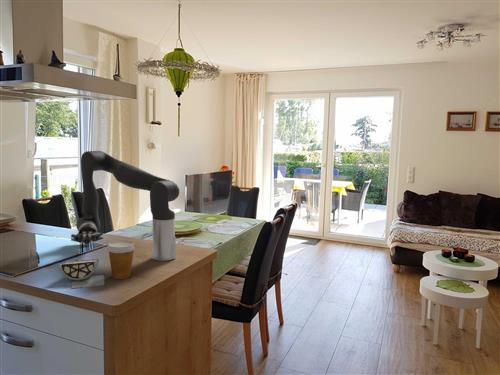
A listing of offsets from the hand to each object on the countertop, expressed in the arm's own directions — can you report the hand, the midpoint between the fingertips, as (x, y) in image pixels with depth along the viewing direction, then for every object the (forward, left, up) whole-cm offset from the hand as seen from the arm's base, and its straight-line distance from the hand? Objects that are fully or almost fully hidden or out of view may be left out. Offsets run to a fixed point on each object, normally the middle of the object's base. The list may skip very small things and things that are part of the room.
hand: (86, 241), depth 149 cm
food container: (0, +12, -7) cm, 14 cm away
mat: (-1, +22, -9) cm, 24 cm away
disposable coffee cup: (-12, +19, -9) cm, 24 cm away
